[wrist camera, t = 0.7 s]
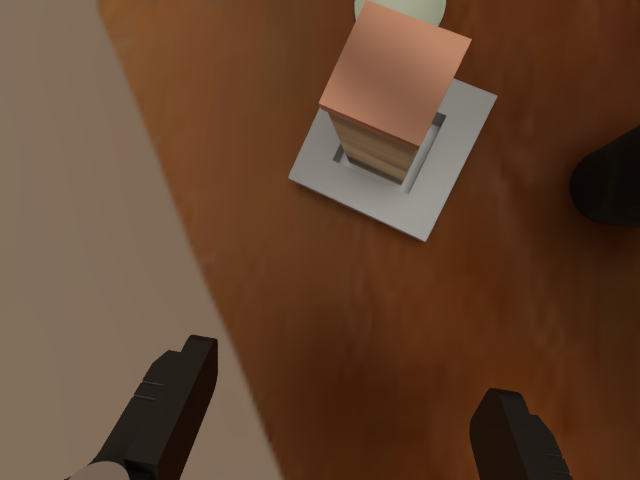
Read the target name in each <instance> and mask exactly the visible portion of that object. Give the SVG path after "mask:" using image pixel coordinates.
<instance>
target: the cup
mask: <svg viewBox="0 0 640 480" xmlns="http://www.w3.org/2000/svg"><path fill="white" fill-rule="evenodd" d="M570 192H571V196H572V200H573V202H574V204H575V205H576V207H577V208H578V209H579V210H580V212H581V213H582V214H584V215H585V216H587V217H588V218H590V219H592V220H594V221H597V222H600V223H606V224H616V225H626V226H637V227H640V125H639V126H637V127H636V128H634V129H632V130H631V131H629V132H627V133H625V134H624V135H622V136H620V137H619V138H617V139H615V140H614V141H612V142H610V143H609V144H607V145H605V146H603V147H602V148H600V149H598V150H597V151H595V152H593V153H592V154H590V155H588V156H587V157H585V158H584V159H583V160H582V161H581V162H580V163H579V164H578V165H577V167H576V169H575V170H574V172H573V175H572V178H571V181H570Z"/></svg>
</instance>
